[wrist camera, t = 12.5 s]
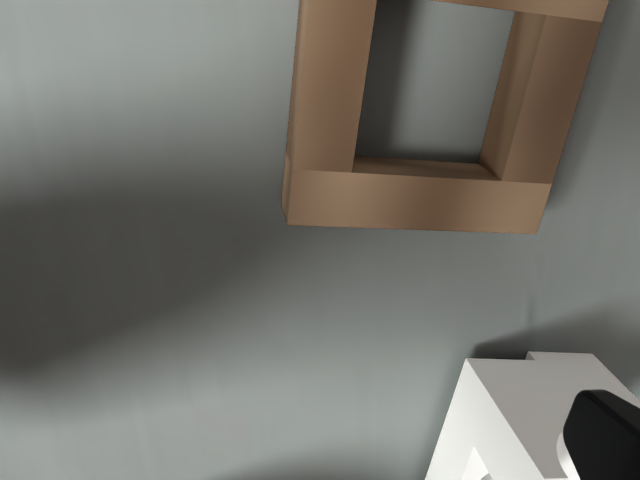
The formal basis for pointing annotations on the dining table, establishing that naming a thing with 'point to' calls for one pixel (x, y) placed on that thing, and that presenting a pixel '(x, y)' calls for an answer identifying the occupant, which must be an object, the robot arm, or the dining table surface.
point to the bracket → (516, 417)
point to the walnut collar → (421, 175)
